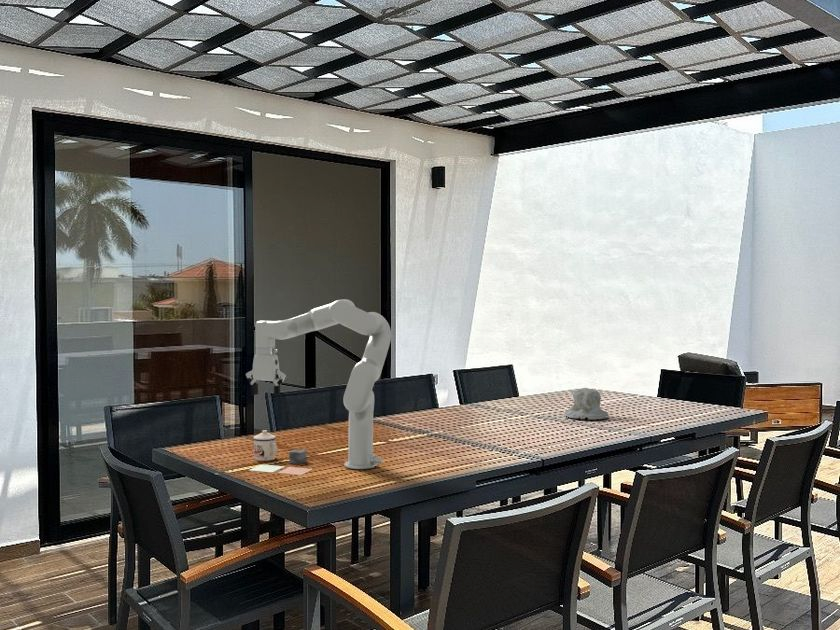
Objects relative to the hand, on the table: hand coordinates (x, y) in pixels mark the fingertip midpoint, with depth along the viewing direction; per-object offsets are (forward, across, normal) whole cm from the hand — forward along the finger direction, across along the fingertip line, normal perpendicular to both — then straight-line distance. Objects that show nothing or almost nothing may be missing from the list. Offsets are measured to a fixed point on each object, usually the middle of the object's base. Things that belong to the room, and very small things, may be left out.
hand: (265, 395), depth 315 cm
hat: (+29, -104, -159) cm, 192 cm away
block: (+27, -11, -4) cm, 30 cm away
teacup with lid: (+27, +3, -6) cm, 28 cm away
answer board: (+27, -12, +10) cm, 31 cm away
